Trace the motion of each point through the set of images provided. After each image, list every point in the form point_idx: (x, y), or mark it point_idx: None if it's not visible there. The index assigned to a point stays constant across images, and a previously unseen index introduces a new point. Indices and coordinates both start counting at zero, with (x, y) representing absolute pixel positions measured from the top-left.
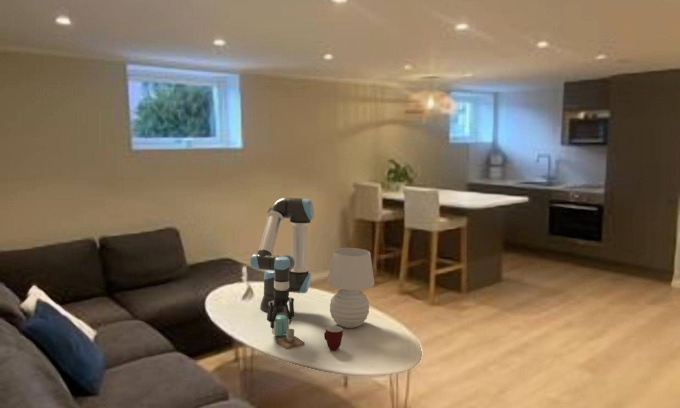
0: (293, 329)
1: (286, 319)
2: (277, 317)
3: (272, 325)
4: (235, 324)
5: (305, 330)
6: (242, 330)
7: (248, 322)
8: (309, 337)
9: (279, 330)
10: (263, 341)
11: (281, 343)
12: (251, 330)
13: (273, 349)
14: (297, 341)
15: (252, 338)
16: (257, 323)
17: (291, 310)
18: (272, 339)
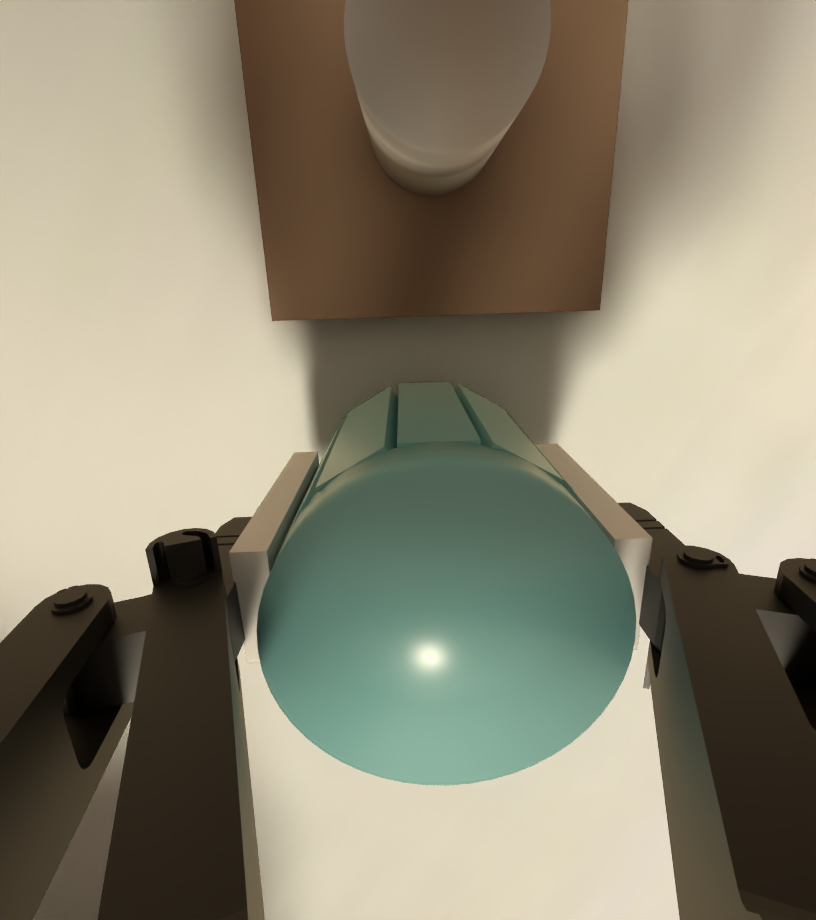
0: (354, 31)
1: (357, 484)
2: (514, 685)
3: (648, 530)
4: (677, 903)
5: (23, 474)
6: None
7: (542, 897)
8: (42, 205)
9: (509, 423)
10: (723, 405)
11: (614, 111)
12: (635, 740)
13: (802, 31)
14: (328, 21)
15: (772, 552)
16: (477, 851)
17: (13, 764)
18: (581, 409)
